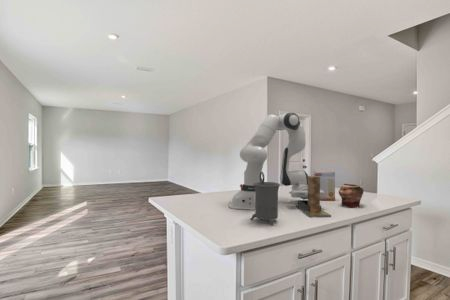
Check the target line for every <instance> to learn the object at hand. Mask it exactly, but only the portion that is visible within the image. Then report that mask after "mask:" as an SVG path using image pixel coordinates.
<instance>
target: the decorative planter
mask: <svg viewBox="0 0 450 300" xmlns="http://www.w3.org/2000/svg"><path fill="white" fill-rule="evenodd" d="M338 194H339V196H340V198H341V205H342V206H344V207H348V208H358V207H360V204H361V200H362V198H363V194H364V188H362V187H361V185H359V184H358V185H357V184H349V183H343V184H342V185H341V186H340V189H339V190H338Z"/></svg>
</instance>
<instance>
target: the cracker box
mask: <svg viewBox="0 0 450 300" xmlns="http://www.w3.org/2000/svg"><path fill="white" fill-rule="evenodd" d="M312 173H313V174H312V176H318V177H320V190H322V191H324V198H320V201H329V202H330V201H336V171H331V170H330V171H327V170H321V171H320V170H317V171H316V170H315V171H312Z"/></svg>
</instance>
